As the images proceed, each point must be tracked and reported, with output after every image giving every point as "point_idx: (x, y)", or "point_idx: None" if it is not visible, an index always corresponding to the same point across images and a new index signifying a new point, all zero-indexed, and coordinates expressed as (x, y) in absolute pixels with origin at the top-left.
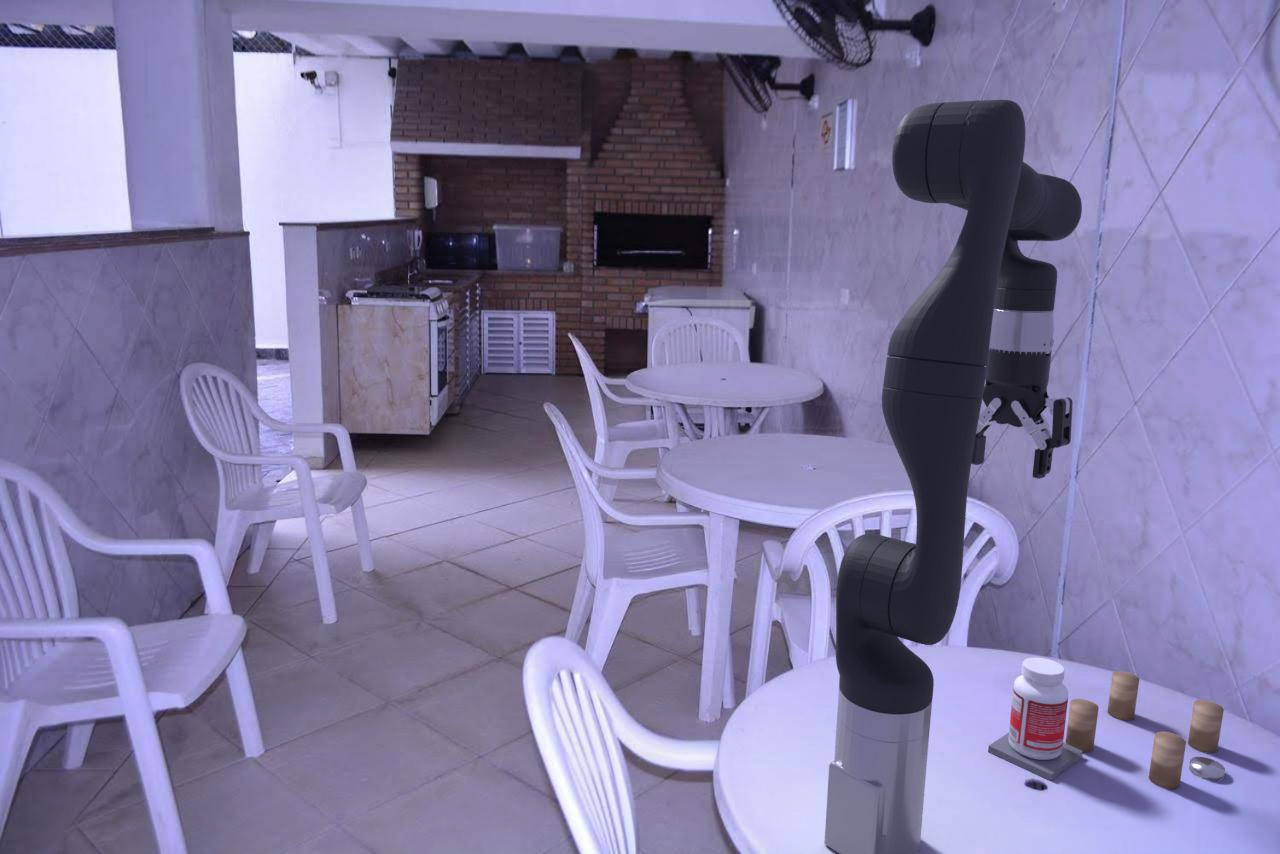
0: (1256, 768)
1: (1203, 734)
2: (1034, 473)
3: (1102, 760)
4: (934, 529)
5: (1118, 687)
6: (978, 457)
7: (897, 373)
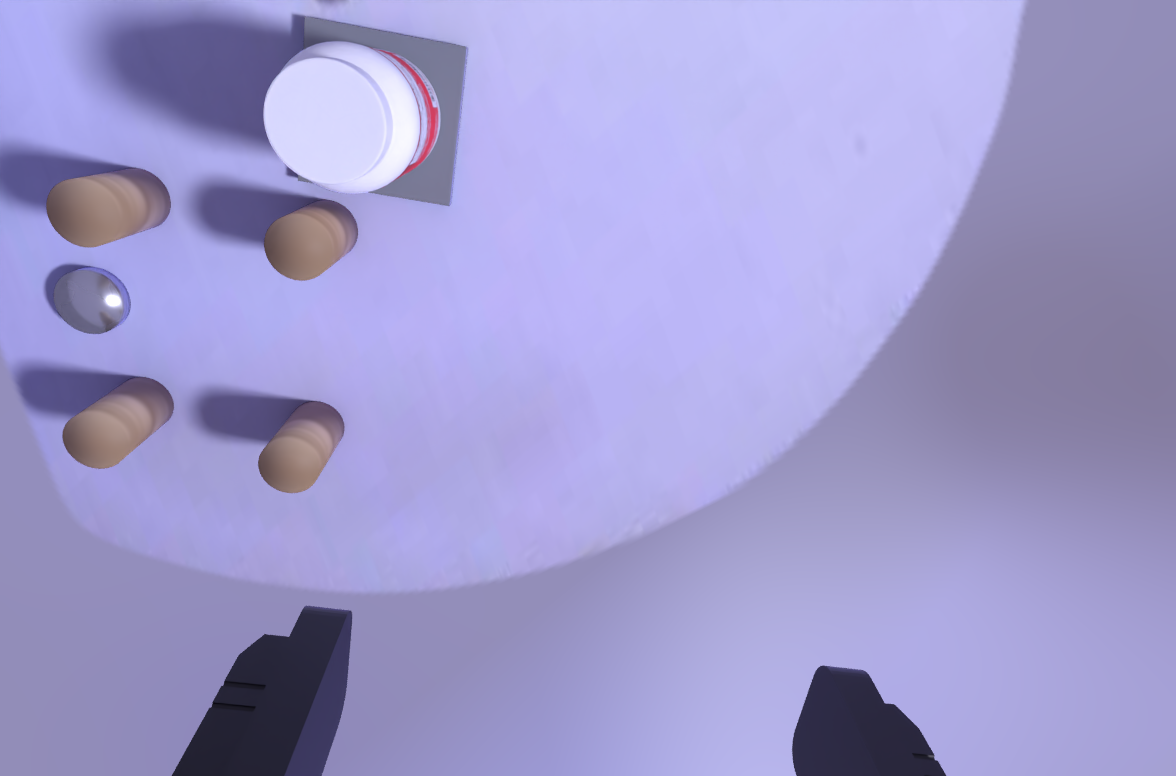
0: (37, 382)
1: (117, 391)
2: (328, 623)
3: (265, 196)
4: None
5: (298, 432)
6: (829, 730)
7: None
